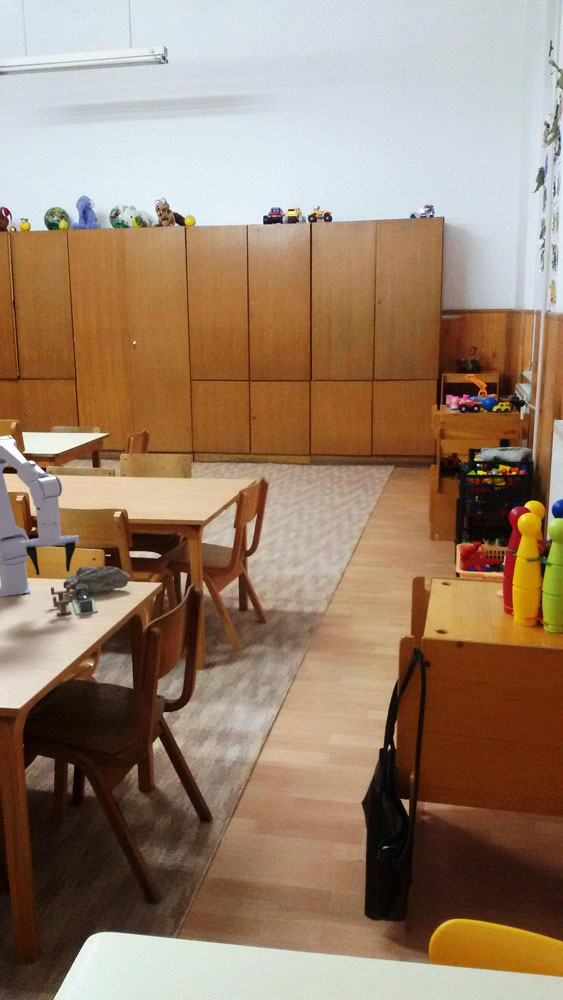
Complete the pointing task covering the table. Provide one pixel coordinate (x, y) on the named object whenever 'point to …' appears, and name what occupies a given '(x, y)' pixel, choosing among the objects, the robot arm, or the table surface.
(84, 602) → the column with square cap
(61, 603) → the rail stand
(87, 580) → the rock
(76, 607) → the mat
